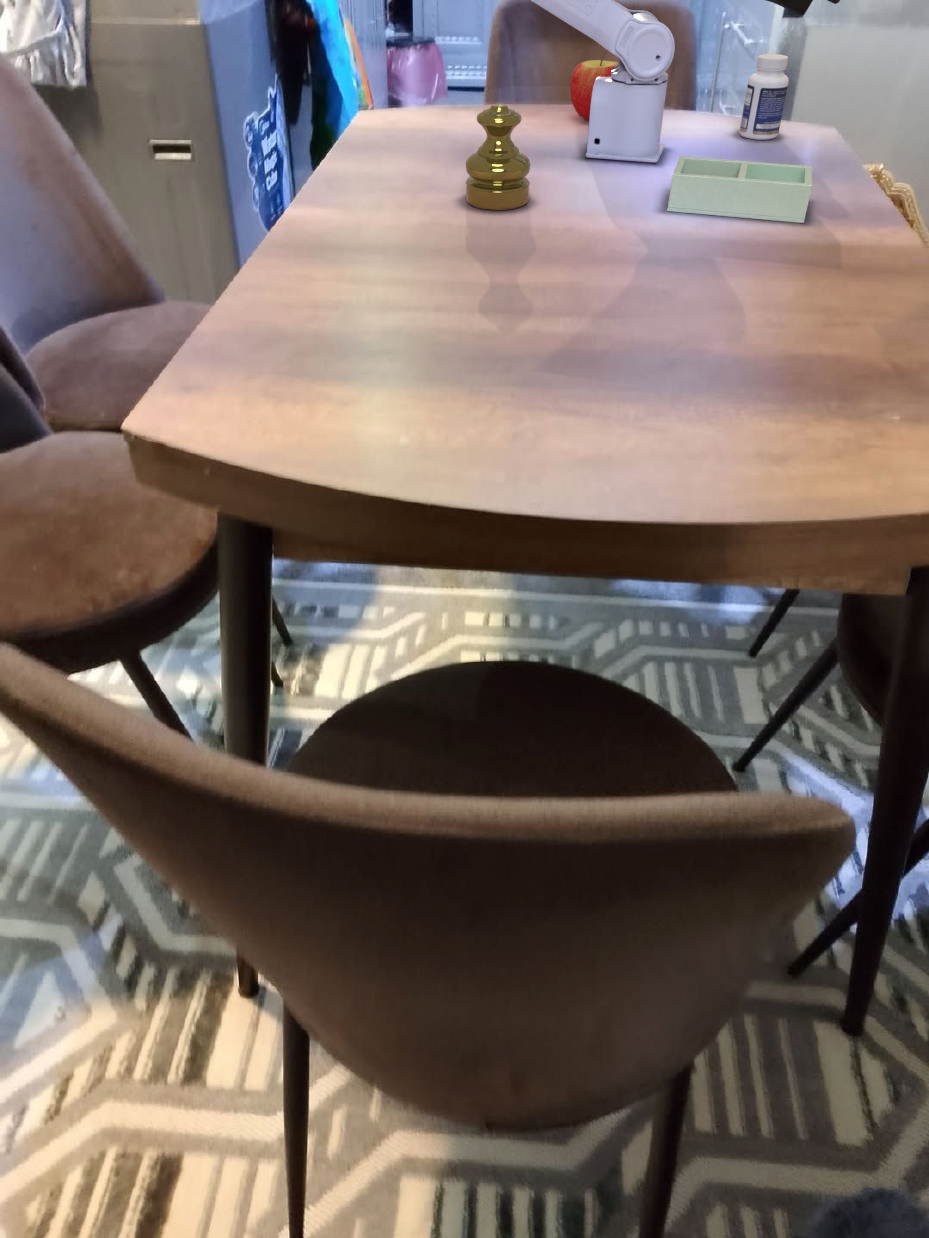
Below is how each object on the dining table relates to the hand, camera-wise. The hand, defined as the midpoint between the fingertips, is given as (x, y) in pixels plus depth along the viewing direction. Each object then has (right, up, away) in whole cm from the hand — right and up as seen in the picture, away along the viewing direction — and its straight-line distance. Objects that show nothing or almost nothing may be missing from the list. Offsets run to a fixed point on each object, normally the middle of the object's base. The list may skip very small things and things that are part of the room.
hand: (824, 1), depth 111 cm
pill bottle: (-2, -7, +19) cm, 20 cm away
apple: (-24, 0, +26) cm, 35 cm away
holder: (-13, -28, -6) cm, 31 cm away
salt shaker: (-40, -27, -5) cm, 48 cm away
